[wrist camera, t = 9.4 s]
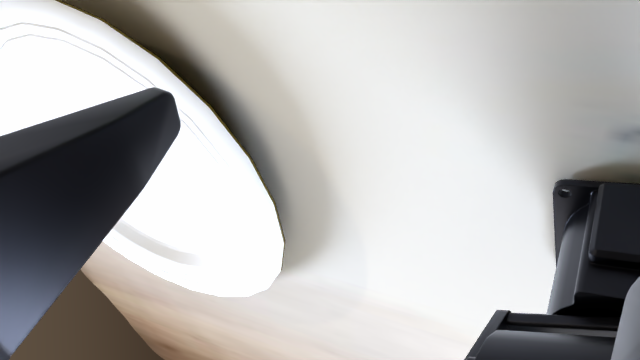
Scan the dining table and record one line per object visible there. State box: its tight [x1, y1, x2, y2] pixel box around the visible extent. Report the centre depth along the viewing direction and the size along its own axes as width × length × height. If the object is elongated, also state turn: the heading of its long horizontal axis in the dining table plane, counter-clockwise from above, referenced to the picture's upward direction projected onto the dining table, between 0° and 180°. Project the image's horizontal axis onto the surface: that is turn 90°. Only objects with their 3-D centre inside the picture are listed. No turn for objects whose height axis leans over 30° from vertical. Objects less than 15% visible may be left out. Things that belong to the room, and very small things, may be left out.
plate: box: [0, 0, 285, 297], centre depth 39 cm, size 29×29×2 cm
